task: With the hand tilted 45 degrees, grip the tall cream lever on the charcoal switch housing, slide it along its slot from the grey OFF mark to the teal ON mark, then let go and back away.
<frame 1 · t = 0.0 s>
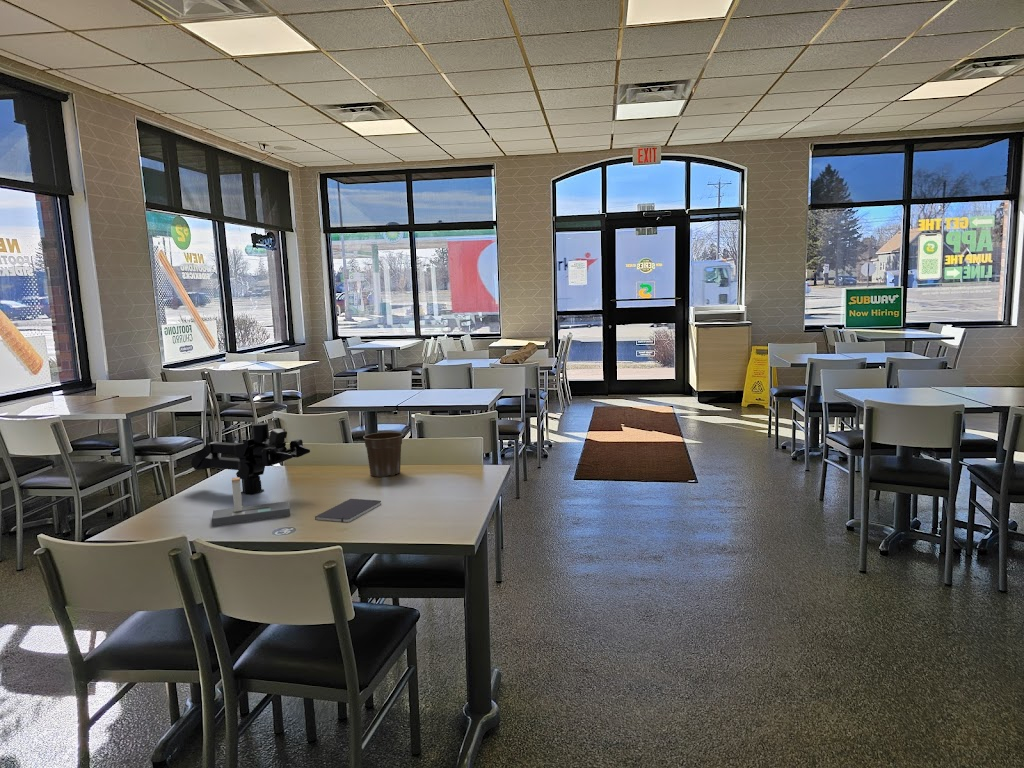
hand: (301, 453, 253), 17 cm above the table, fingers open, 9 cm apart
switch housing: (251, 516, 234), on the table
plant pot: (385, 474, 287), on the table
slide lever: (237, 494, 232), point 8 cm above the table, slide at 0.0 cm
notebook: (350, 513, 236), on the table
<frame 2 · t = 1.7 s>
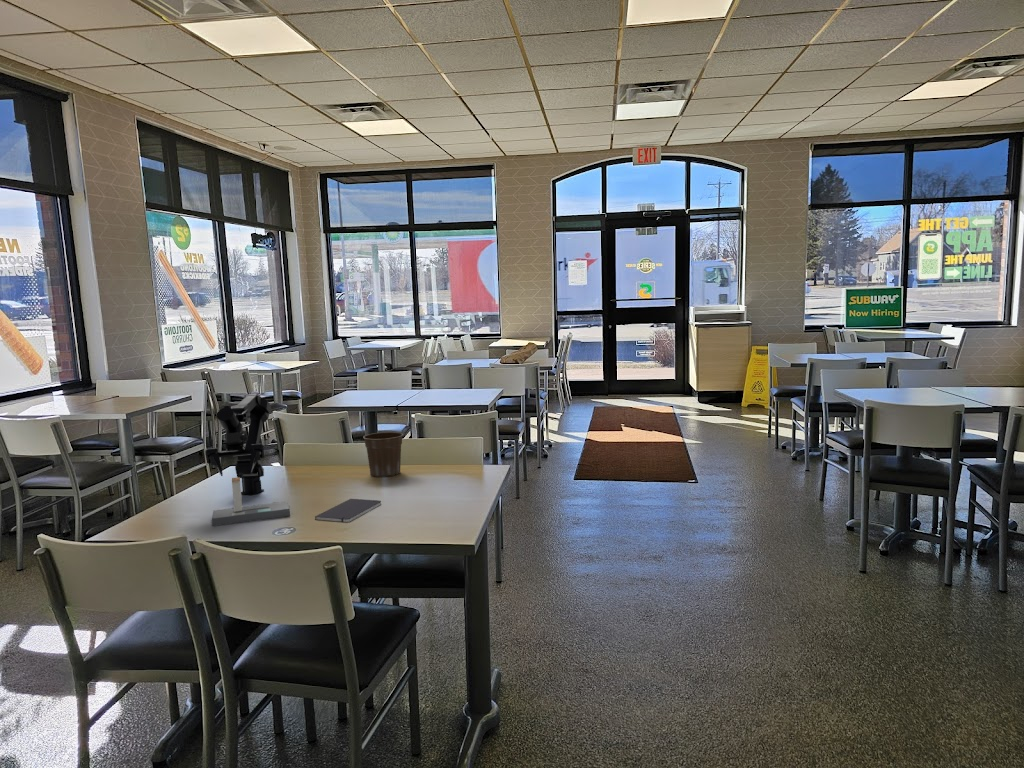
hand: (236, 473, 238), 13 cm above the table, fingers open, 9 cm apart
nothing on the table moved.
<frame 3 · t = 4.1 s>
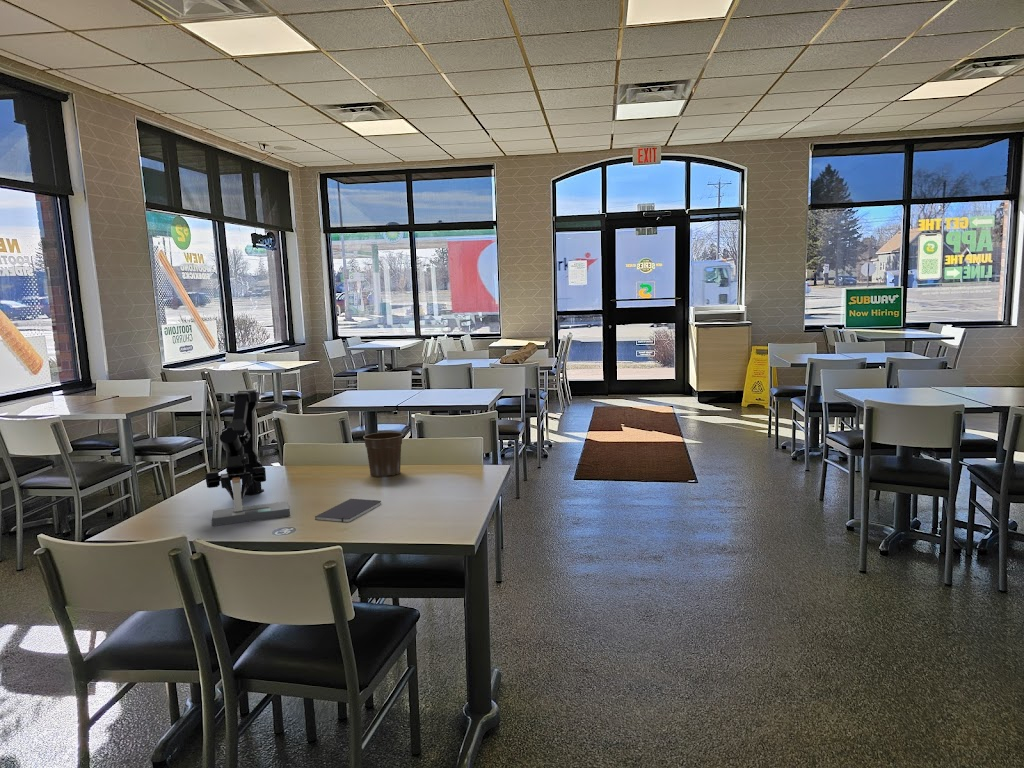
hand: (237, 498, 231), 7 cm above the table, fingers closed on slide lever, 2 cm apart
slide lever: (237, 494, 232), point 8 cm above the table, slide at 0.1 cm, touching gripper
everything else where it was.
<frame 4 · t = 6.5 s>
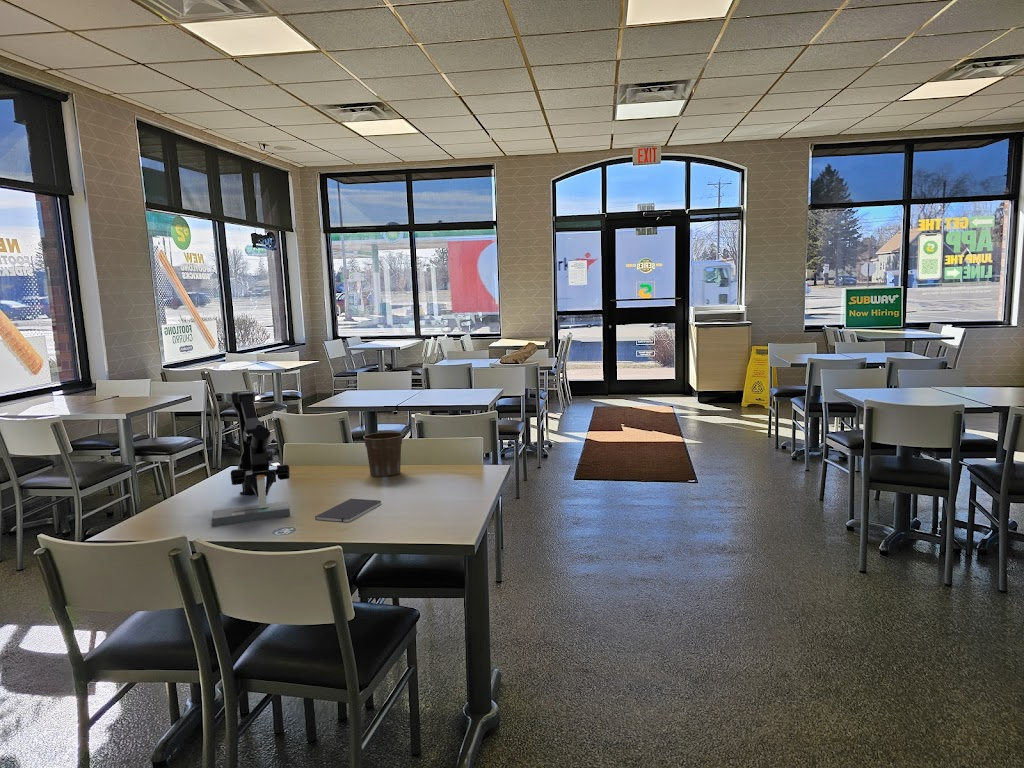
hand: (262, 495, 233), 7 cm above the table, fingers closed on slide lever, 2 cm apart
slide lever: (261, 491, 234), point 8 cm above the table, slide at 7.7 cm, touching gripper
everything else where it was.
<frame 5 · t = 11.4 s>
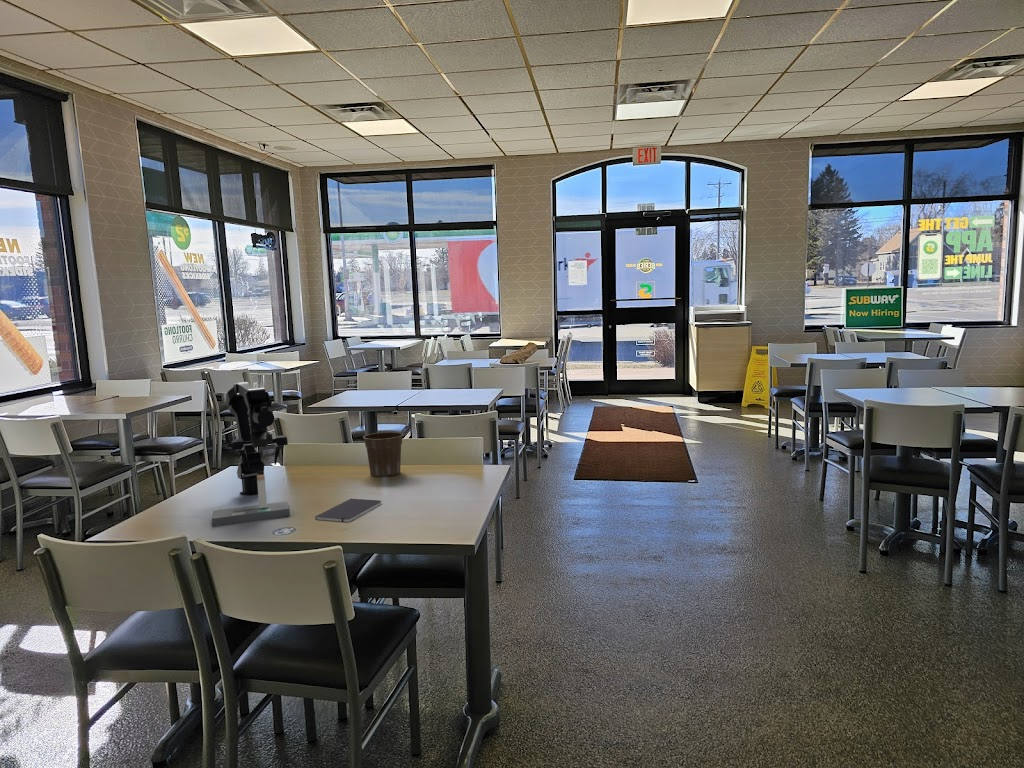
hand: (261, 466, 250), 13 cm above the table, fingers open, 9 cm apart
slide lever: (261, 491, 234), point 8 cm above the table, slide at 7.8 cm
everything else where it was.
at the end: slide lever slide at 7.8 cm; the gripper is holding nothing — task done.
